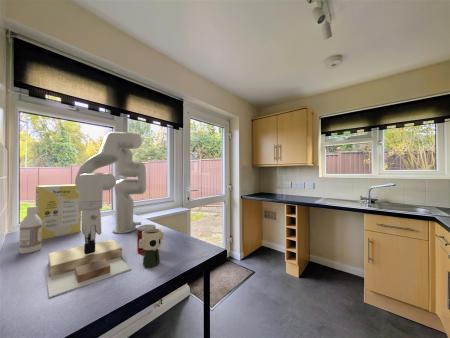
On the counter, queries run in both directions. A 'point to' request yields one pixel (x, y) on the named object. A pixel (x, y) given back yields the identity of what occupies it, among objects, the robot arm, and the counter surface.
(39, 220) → the bath foam
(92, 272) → the walnut tile
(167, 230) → the counter surface
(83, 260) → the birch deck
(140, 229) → the canned food
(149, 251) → the character mug
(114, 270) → the cream mat
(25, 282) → the counter surface
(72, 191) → the pasta box
